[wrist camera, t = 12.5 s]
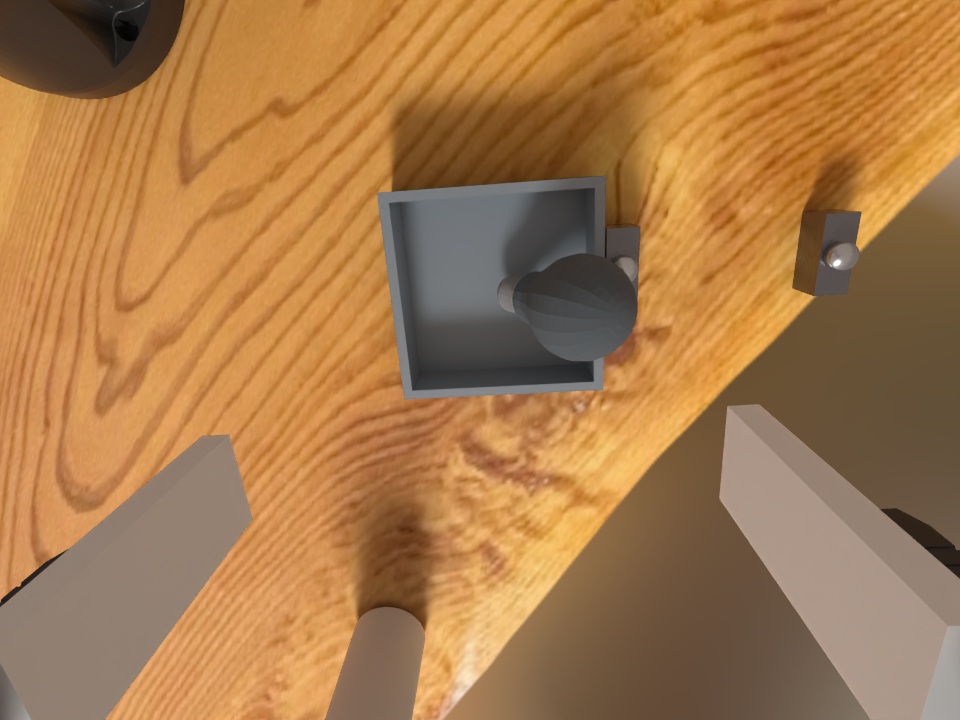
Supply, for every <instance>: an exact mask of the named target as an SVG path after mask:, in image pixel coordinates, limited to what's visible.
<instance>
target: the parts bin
mask: <svg viewBox="0 0 960 720" xmlns="http://www.w3.org/2000/svg"><path fill="white" fill-rule="evenodd" d="M377 196H378V203H379V211H380V218H381V226H382V234H383V241H384V249H385V256H386V264H387V271H388V279H389V287H390V294H391V302H392V309H393V317H394V324H395V332H396V340H397V347H398V355H399V362H400V370H401V377H402V385H403V393H404V399H422V398H443V397H464V396H485V395H506V394H527V393H548V392H569V391H590V390H603V360H604V357H602V358H599V359H597V360H593V361H570V360H566V359H563V358H561V357H559V356H557V355H555V354H553V353H551V352H550V351H548V350H547V349H546V348H545V347H544V346H543V345H542V344H541V343H540V341H539V340H538V339H537V338H536V336H535V335H534V333H533V331H532V329H531V327H530V325H529V324H528V323H526V322H524V321H522V320H521V319H520V318H519V317H518V315H517V314H516V313H512V312H509V311H507V310H505V309H503V308H502V306H501V305H500V304H499V302H498V299H497V289H498V286H499V284H500V282H501V281H502V280H503V279H504V278H506V277H507V276H509V275H512V274H516V275H524V276H525V275H526V274H528V273H531V272H535V271H539V272H541V271H543V270H544V269H545V268H547V267H548V266H549V265H551V264H552V263H553V262H555V261H556V260H558V259H560V258H563V257H567V256H570V255H574V254H579V253H587V254H592V255H597V256H601V257H605V197H606V176H594V177H581V178H567V179H554V180H541V181H527V182H514V183H501V184H487V185H474V186H461V187H447V188H434V189H420V190H407V191H394V192H381V193H377Z"/></svg>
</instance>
